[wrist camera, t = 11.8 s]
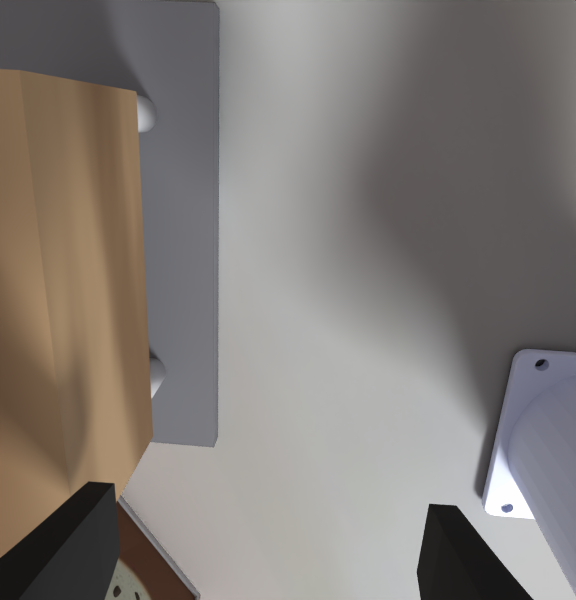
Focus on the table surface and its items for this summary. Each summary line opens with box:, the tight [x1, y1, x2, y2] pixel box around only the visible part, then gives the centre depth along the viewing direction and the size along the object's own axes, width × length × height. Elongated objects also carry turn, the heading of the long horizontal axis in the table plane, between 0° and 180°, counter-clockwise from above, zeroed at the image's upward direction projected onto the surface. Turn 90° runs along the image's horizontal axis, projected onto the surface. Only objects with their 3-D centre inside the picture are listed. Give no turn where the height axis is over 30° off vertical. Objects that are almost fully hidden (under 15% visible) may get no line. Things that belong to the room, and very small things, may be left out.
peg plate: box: [0, 0, 219, 447], centre depth 18 cm, size 8×17×3 cm, turn 177°
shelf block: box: [0, 69, 153, 558], centre depth 14 cm, size 4×12×6 cm, turn 177°
